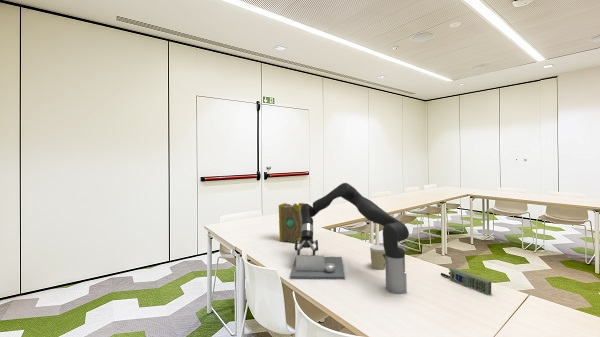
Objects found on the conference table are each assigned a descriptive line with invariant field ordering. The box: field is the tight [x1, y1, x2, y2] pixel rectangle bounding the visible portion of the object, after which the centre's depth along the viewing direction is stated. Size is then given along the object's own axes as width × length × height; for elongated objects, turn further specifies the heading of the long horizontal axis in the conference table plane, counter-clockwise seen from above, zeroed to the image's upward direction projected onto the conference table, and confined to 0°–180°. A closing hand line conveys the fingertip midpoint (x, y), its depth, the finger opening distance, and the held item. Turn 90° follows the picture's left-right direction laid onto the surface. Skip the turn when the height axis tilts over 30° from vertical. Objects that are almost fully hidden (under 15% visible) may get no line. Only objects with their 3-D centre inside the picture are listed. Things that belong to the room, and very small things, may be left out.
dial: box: [295, 254, 335, 272], centre depth 161 cm, size 22×6×8 cm, turn 84°
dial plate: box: [289, 256, 346, 280], centre depth 169 cm, size 30×30×2 cm
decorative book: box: [278, 202, 306, 245], centre depth 224 cm, size 20×11×30 cm, turn 63°
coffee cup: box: [369, 244, 386, 271], centre depth 168 cm, size 9×9×12 cm
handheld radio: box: [440, 266, 492, 296], centre depth 143 cm, size 7×3×25 cm
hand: (305, 256), depth 167 cm, fingers open, 8 cm apart
